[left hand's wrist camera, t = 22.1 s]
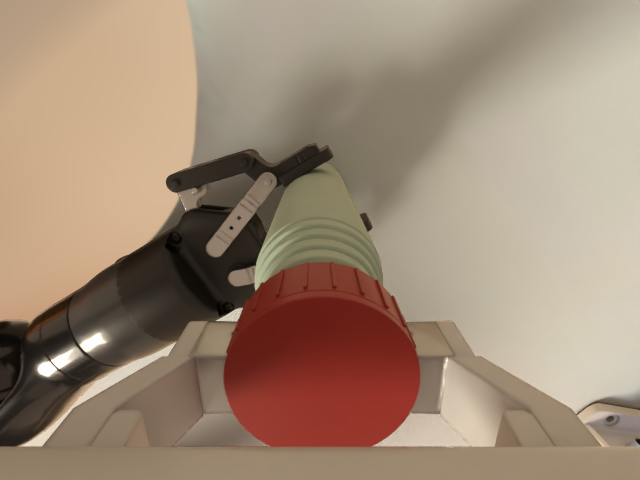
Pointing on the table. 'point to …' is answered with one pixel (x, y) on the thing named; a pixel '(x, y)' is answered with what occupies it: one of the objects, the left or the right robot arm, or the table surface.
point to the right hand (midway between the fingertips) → (349, 186)
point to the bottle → (317, 228)
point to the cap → (321, 360)
